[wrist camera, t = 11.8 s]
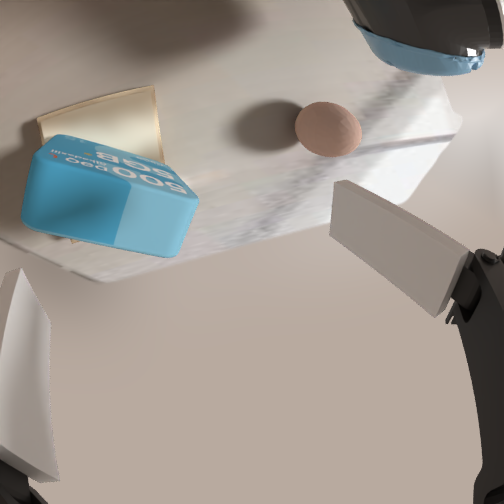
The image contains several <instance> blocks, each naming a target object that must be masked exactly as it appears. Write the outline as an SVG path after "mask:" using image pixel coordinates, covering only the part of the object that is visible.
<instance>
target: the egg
mask: <svg viewBox="0 0 504 504" xmlns="http://www.w3.org/2000/svg"><path fill="white" fill-rule="evenodd" d="M295 131H296V135H297V137H298V139H299V141H300V142H301V144H302V145H303V146H304V147H305V148H307V149H308V150H309V151H311V152H313V153H315V154H318V155H321V156H325V157H338V156H343V155H346V154H349V153H351V152H352V151H354V150H355V149H356V148H357V147H358V145H359V144H360V141H361V139H362V130H361V126H360V124H359V122H358V121H357V119H356V118H355V117H354V116H353V115H352V114H351V113H350V112H349V111H348V110H346V109H345V108H344V107H342V106H340V105H337V104H334V103H329V102H316V103H312V104H310V105H308V106H306V107H305V108H304V109H303V110H302V111H300V113H299V114H298V116H297V119H296V121H295Z"/></svg>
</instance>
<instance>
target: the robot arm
mask: <svg viewBox="0 0 504 504" xmlns="http://www.w3.org/2000/svg"><path fill="white" fill-rule="evenodd" d="M343 1H344V3H345V4H346V6H347V8H348V10H349V11H350V13H351V15H352V17H353V23H354V25H355V26H356V27H357V28H358V29H359V30H360V31H361V32H362V34H363V36H364V38H365V39H366V41H367V43H368V45H369V46H370V48H371V50H372V51H373V53H374V54H375V55H376V56H377V57H378V58H379V59H380V60H382V61H383V62H385V63H387V64H389V65H391V66H395V67H396V68H398V69H401V70H404V71H407V72H412V73H417V74H423V75H433V76H454V75H461V74H466V73H470V72H471V69H473V70H477V69H478V68H480V67H481V66H482V64H483V62H484V57H485V51H484V49H493V48H494V49H495V48H504V0H343ZM329 235H330V236H331V237H332V238H334V239H335V240H336V241H338V242H339V243H340V244H342V245H343V246H344V247H346V248H347V249H348V250H350V251H351V252H352V253H354V254H355V255H356V256H358V257H359V258H360V259H362V260H363V261H364V262H366V263H367V264H368V265H369V266H371V267H372V268H374V269H375V270H376V271H377V272H378V273H380V274H381V275H382V276H384V277H385V278H386V279H387V280H389V281H390V282H391V283H392V284H394V285H395V286H396V287H398V288H399V289H400V290H401V291H402V292H404V293H405V294H406V295H407V296H409V297H410V298H411V299H412V300H413V301H415V302H416V303H417V304H418V305H420V306H421V307H422V308H423V309H424V310H425V311H427V312H428V313H429V314H430V315H431V316H433V317H434V318H435V317H437V316H438V315H439V314H440V313H442V312H443V311H444V310H445V308H446V306H447V304H448V302H449V300H450V298H452V299H454V300H455V302H454V303H453V306H452V308H451V310H450V312H449V314H448V316H447V318H446V324H448V323H449V321H450V319H451V317H452V316H454V318H453V320H452V322H451V324H457V325H458V328H459V332H460V336H461V339H462V343H463V347H464V350H465V354H466V358H467V363H468V366H469V371H470V376H471V380H472V385H473V390H474V395H475V401H476V407H477V413H478V420H479V428H480V437H481V447H482V459H483V464H482V469H481V471H480V473H479V474H478V476H477V478H476V480H475V483H474V495H473V496H474V497H473V504H504V248H503V251H502V253H501V255H500V256H497V255H495V254H494V253H492V252H490V251H488V250H485V249H478V250H476V251H475V254H474V253H472V252H470V250H469V249H468V248H466V247H465V246H463V245H462V244H460V243H458V242H457V241H456V240H454V239H452V238H451V237H449V236H448V235H446V234H444V233H443V232H441V231H439V230H438V229H436V228H435V227H433V226H431V225H430V224H428V223H426V222H425V221H423V220H421V219H419V218H418V217H416V216H414V215H412V214H411V213H409V212H407V211H405V210H404V209H402V208H400V207H398V206H397V205H395V204H393V203H391V202H389V201H387V200H386V199H384V198H382V197H380V196H378V195H376V194H374V193H372V192H370V191H368V190H366V189H364V188H362V187H360V186H358V185H356V184H354V183H352V182H350V181H348V180H342V181H337V182H334V191H333V203H332V214H331V224H330V233H329ZM50 331H51V322H50V320H49V318H48V317H47V315H46V313H45V311H44V310H43V308H42V306H41V304H40V303H39V301H38V299H37V297H36V295H35V293H34V291H33V290H32V288H31V286H30V284H29V282H28V280H27V278H26V276H25V274H24V272H23V269H22V267H20V268H18V269H15V270H12V271H9V272H7V273H6V274H5V276H4V279H3V282H2V285H1V288H0V504H48V503H47V502H46V501H45V500H44V499H43V498H42V497H41V496H40V495H39V493H38V492H37V491H36V490H35V489H33V488H32V487H31V486H29V483H28V477H30V478H31V479H33V480H35V481H37V482H39V483H44V482H55V481H60V478H59V473H58V467H57V461H56V455H55V448H54V439H53V430H52V420H51V406H50V380H49V359H50V356H49V355H50Z"/></svg>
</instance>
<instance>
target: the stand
mask: <svg viewBox="0 0 504 504" xmlns="http://www.w3.org/2000/svg"><path fill="white" fill-rule="evenodd" d="M37 122H38V127H39V132H40V137H41V142H42V146H43V145H44V144H45V143H47V142H48V141H49V140H50V139H51V138H52V137H54V136H55V135H57V134H63V135H69V136H73V137H77V138H81V139H84V140H88V141H91V142H95V143H99V144H102V145H106V146H109V147H113V148H116V149H119V150H123V151H126V152H130V153H133V154H136V155H139V156H143V157H146V158H149V159H152V160H155V161H158V162H161V163H163V164H165V161H164V155H163V149H162V142H161V136H160V129H159V122H158V114H157V107H156V99H155V90H154V85H151V86H146V87H141V88H136V89H132V90H127V91H123V92H119V93H115V94H111V95H107V96H103V97H99V98H96V99H92V100H89V101H85V102H82V103H79V104H75V105H72V106H69V107H66V108H63V109H60V110H57V111H54V112H52V113H49V114H46V115H43V116H41V117H38V118H37ZM70 240H71V242H72V244H73V243H76V242H79V240H74V239H70Z"/></svg>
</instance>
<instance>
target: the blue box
mask: <svg viewBox="0 0 504 504" xmlns="http://www.w3.org/2000/svg"><path fill="white" fill-rule="evenodd" d="M198 203H199V198H198V196H197V195H196V194H195V193H194V192H193V191H192V190H191V189H190V188H189V187H188V186H187V185H186V184H185V183H184V182H183V181H182V180H181V179H180V177H179V176H178V175H177V174H176V173H175V172H174V171H173V170H172V169H171V168H170V167H169V166H167V165H165V164H163V163H161V162H158V161H155V160H152V159H149V158H146V157H143V156H139V155H136V154H133V153H130V152H126V151H123V150H119V149H116V148H113V147H109V146H106V145H102V144H99V143H95V142H91V141H88V140H84V139H81V138H77V137H73V136H69V135H63V134H57V135H55V136H54V137H52V138H51V139H50V140H49V141H48V142H47V143H45V144H44V145H43V146H42V147H41V148H40V149H39V150H37V151H36V152H35V153H34V155H33V158H32V162H31V166H30V170H29V174H28V179H27V184H26V189H25V194H24V200H23V205H22V212H21V220H22V222H23V224H24V225H25V226H27V227H28V228H30V229H32V230H34V231H37V232H42V233H46V234H51V235H55V236H60V237H65V238H69V239H74V240H79V241H83V242H88V243H93V244H98V245H103V246H108V247H112V248H117V249H122V250H127V251H132V252H137V253H142V254H147V255H153V256H158V257H163V258H171V257H174V256H176V255H177V254H178V253H179V251H180V248H181V245H182V243H183V240H184V238H185V235H186V233H187V230H188V228H189V225H190V223H191V220H192V218H193V215H194V213H195V210H196V208H197V206H198Z"/></svg>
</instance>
